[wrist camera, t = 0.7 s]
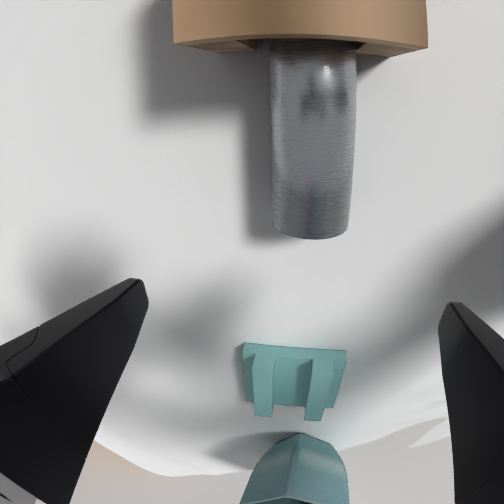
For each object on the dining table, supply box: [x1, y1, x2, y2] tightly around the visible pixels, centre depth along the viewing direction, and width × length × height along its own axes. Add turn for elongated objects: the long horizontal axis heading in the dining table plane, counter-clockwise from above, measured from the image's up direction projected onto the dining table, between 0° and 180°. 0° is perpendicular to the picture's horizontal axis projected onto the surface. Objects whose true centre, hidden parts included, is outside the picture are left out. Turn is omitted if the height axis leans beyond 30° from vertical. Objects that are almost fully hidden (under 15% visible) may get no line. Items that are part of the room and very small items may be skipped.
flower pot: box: [240, 433, 349, 504], centre depth 29 cm, size 9×9×9 cm
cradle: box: [242, 343, 346, 421], centre depth 25 cm, size 8×7×2 cm
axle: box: [269, 38, 356, 239], centre depth 13 cm, size 4×14×4 cm, turn 2°
